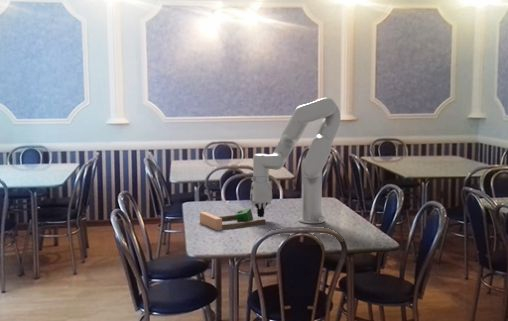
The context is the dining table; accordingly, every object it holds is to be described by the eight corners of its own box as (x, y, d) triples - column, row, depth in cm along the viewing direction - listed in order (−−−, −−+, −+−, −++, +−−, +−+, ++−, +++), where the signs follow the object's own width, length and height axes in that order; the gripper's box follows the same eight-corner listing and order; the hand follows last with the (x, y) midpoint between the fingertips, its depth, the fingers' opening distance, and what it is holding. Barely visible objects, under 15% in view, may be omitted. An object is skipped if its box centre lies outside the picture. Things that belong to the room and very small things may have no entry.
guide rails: (265, 224, 288) (265, 219, 288) (222, 229, 277) (222, 225, 277) (247, 217, 304) (247, 213, 303) (206, 221, 293) (206, 217, 292)
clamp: (242, 229, 296) (239, 211, 299) (254, 226, 295) (251, 208, 298) (235, 225, 285) (232, 206, 288) (248, 222, 284) (245, 203, 287)
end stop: (222, 229, 277) (222, 218, 276) (216, 230, 275) (216, 219, 275) (205, 222, 293) (205, 211, 292) (199, 222, 291) (199, 212, 291)
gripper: (251, 181, 288) (250, 219, 290) (278, 179, 295) (277, 216, 297) (243, 179, 294) (243, 216, 297) (270, 177, 302) (270, 213, 304)
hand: (260, 216), depth 297 cm, fingers closed
